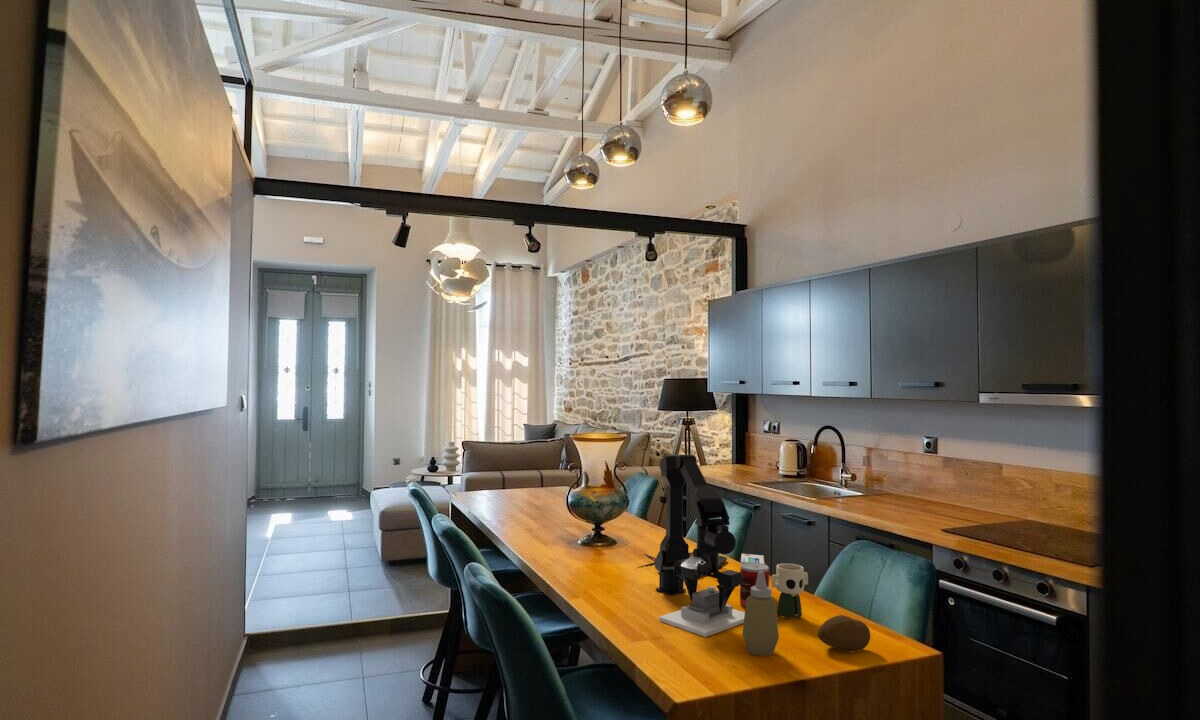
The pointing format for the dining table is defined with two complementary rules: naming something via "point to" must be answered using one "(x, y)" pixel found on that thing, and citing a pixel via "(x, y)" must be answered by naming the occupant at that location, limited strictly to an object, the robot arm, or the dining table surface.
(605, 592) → the dining table surface
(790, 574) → the character mug
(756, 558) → the light bulb box
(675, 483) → the robot arm
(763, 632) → the squeeze bottle
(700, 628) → the plate
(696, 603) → the block
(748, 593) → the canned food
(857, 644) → the potato
